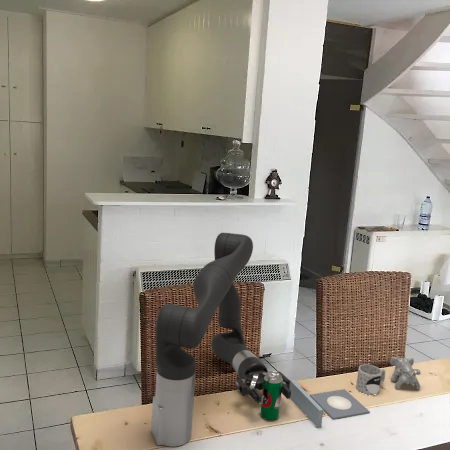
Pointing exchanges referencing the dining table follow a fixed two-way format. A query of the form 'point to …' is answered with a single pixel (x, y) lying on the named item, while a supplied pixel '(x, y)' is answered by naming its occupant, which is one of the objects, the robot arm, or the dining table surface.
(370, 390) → the mug
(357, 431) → the dining table surface
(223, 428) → the dining table surface
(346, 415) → the slate pad
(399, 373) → the elephant statuette
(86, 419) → the dining table surface
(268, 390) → the soda can
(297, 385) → the acrylic wall
